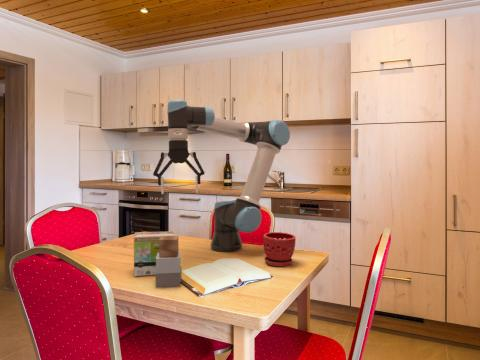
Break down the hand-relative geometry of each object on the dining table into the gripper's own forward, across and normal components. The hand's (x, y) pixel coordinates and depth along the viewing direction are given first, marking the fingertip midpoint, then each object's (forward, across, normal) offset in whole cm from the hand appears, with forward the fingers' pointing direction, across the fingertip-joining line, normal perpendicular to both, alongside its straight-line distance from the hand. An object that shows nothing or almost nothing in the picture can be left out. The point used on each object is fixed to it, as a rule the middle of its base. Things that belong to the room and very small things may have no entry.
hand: (179, 193), depth 147 cm
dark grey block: (+29, -4, -22) cm, 37 cm away
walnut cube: (+19, -3, -22) cm, 29 cm away
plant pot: (+30, +40, -2) cm, 50 cm away
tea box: (+29, -10, -8) cm, 32 cm away
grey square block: (+24, -3, -22) cm, 33 cm away
